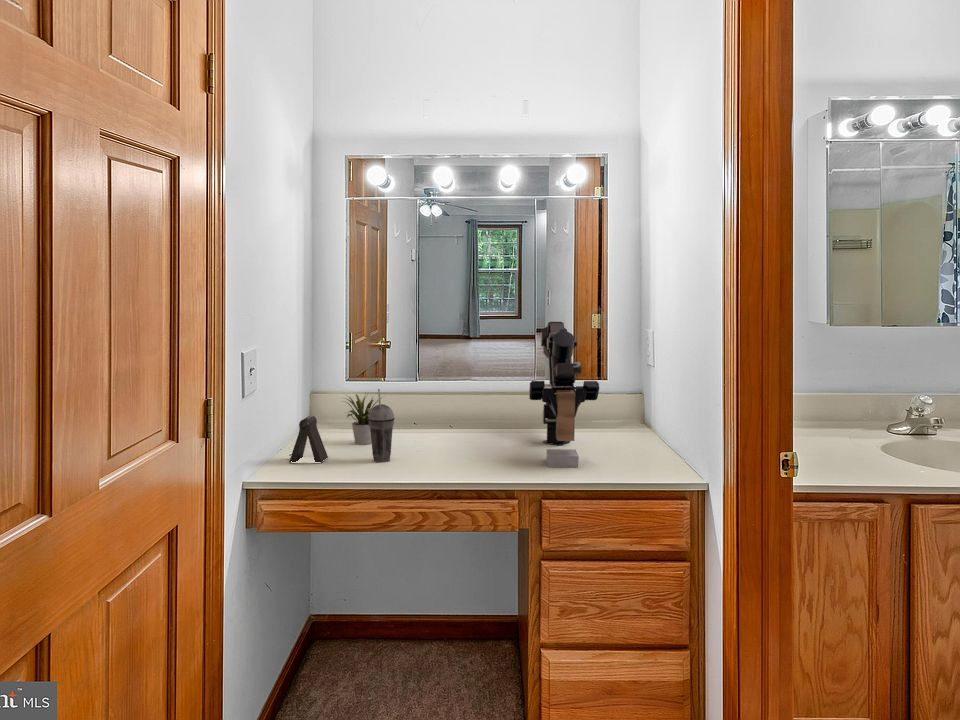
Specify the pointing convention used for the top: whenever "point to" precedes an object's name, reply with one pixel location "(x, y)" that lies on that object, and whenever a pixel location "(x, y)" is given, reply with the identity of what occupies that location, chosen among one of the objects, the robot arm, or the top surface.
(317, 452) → the phone stand
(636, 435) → the top surface
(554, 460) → the plinth
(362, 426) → the house plant
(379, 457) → the beverage cup
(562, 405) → the walnut block
